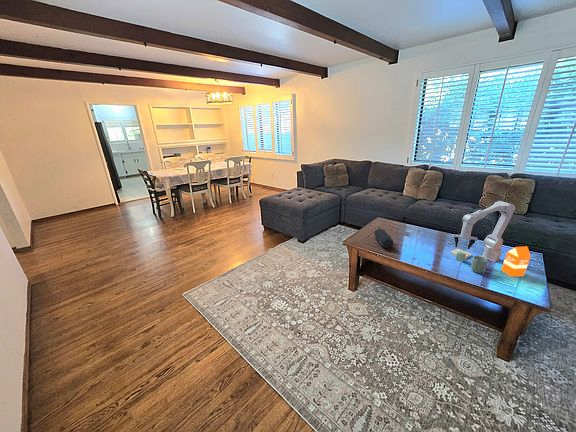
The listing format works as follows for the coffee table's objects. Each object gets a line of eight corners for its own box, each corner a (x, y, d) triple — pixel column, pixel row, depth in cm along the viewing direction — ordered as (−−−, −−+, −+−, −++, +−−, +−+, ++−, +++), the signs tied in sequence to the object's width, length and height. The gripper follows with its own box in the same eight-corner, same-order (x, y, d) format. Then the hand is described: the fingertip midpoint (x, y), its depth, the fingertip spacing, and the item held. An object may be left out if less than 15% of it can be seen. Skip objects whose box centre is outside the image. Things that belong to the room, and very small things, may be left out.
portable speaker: (394, 249, 196) (395, 239, 193) (381, 250, 196) (383, 239, 193) (383, 237, 220) (384, 227, 216) (372, 237, 220) (373, 227, 217)
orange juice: (500, 270, 165) (509, 244, 158) (512, 269, 165) (521, 243, 158) (511, 276, 157) (521, 249, 151) (524, 275, 158) (533, 249, 151)
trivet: (470, 256, 184) (471, 253, 183) (463, 259, 179) (464, 256, 178) (457, 251, 192) (457, 248, 191) (450, 254, 188) (450, 251, 187)
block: (464, 260, 178) (465, 253, 176) (461, 262, 176) (463, 254, 174) (458, 258, 181) (460, 251, 179) (455, 259, 179) (457, 252, 177)
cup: (470, 267, 169) (473, 254, 166) (484, 270, 164) (487, 258, 161) (469, 271, 164) (472, 259, 160) (483, 275, 159) (487, 262, 155)
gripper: (477, 230, 172) (472, 247, 176) (453, 227, 178) (449, 243, 182) (479, 234, 166) (475, 251, 170) (455, 230, 172) (451, 247, 177)
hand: (462, 247), depth 176 cm, fingers open, 7 cm apart
